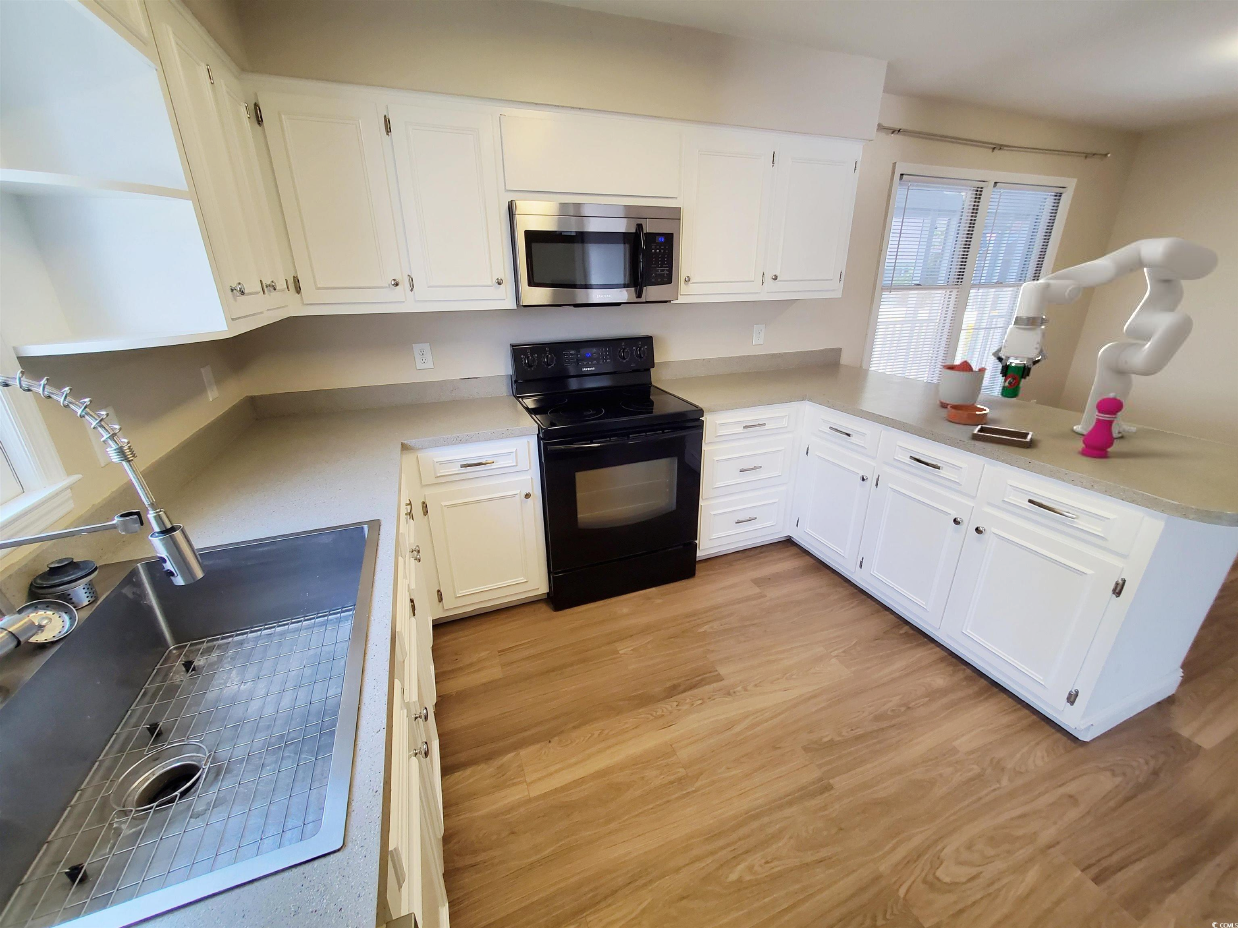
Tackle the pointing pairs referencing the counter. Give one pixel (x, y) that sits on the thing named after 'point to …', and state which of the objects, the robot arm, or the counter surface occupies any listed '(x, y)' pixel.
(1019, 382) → the soda can
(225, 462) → the counter surface
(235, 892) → the counter surface
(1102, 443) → the pepper mill
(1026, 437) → the tray
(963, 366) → the citrus juicer
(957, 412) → the bowl
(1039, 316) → the robot arm
